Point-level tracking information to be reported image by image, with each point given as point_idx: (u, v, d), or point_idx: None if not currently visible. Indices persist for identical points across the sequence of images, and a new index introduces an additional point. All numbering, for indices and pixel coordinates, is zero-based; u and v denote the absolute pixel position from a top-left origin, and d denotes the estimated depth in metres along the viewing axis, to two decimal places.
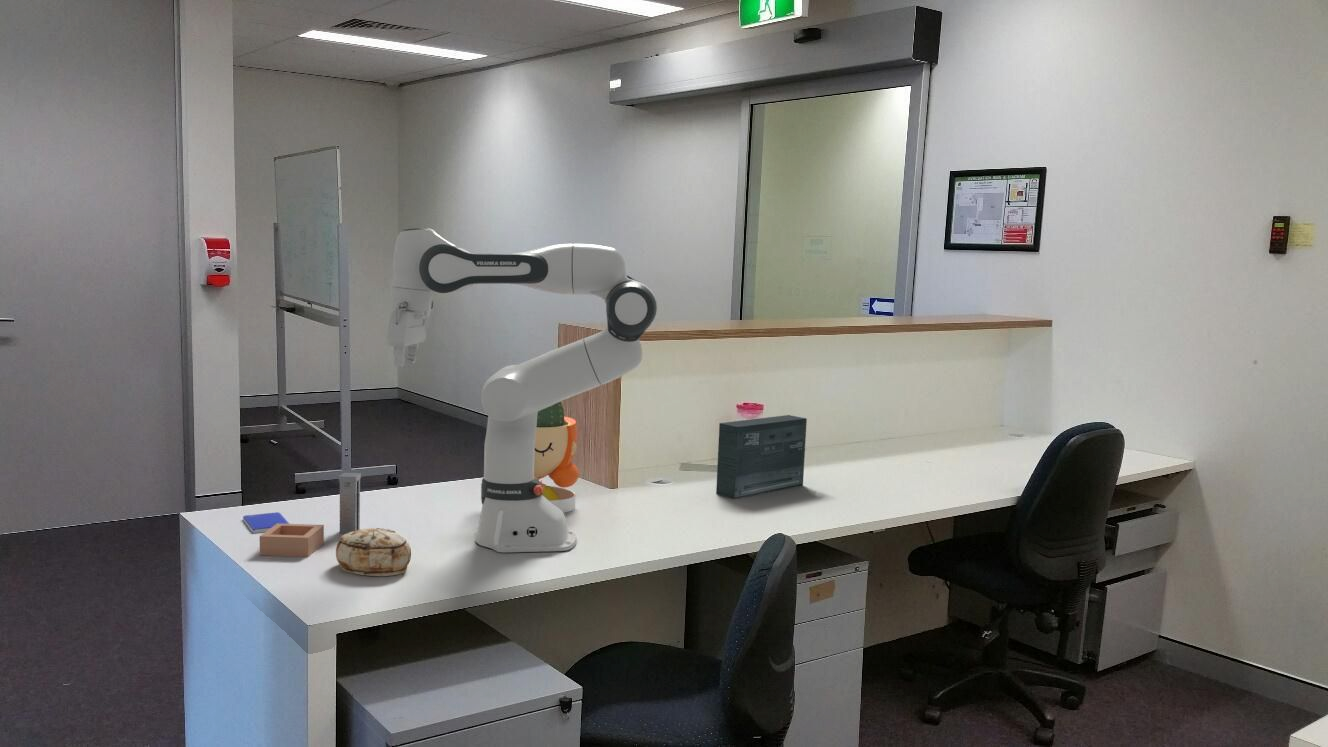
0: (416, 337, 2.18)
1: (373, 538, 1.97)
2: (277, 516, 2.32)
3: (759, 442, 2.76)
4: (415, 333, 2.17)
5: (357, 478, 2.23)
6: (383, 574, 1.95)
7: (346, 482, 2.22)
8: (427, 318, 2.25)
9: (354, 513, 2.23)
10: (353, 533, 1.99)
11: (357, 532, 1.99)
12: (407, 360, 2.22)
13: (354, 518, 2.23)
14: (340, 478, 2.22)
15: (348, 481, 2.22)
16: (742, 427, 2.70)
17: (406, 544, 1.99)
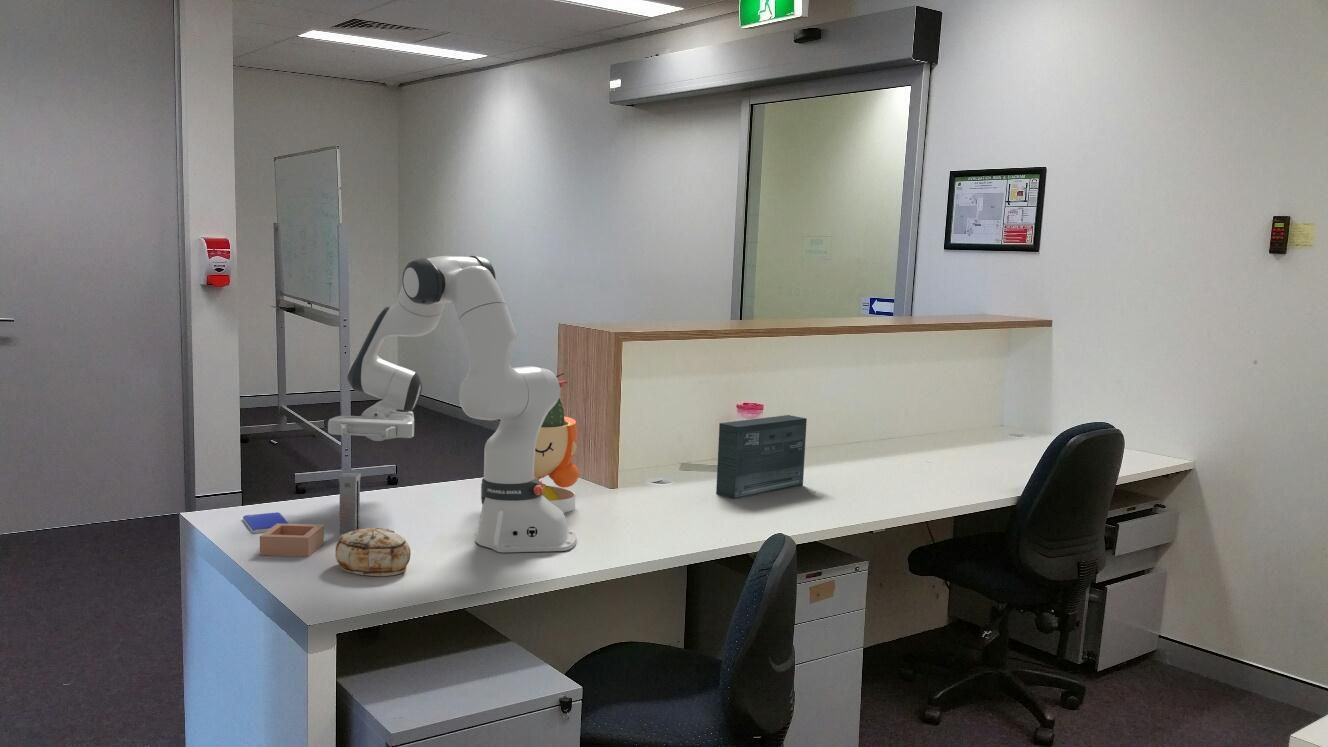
0: (373, 420, 2.41)
1: (372, 537, 1.97)
2: (277, 516, 2.32)
3: (759, 442, 2.76)
4: (370, 420, 2.42)
5: (357, 478, 2.23)
6: (382, 574, 1.95)
7: (346, 482, 2.22)
8: (407, 417, 2.45)
9: (354, 513, 2.23)
10: (352, 533, 1.99)
11: (356, 532, 1.99)
12: None
13: (354, 518, 2.23)
14: (340, 478, 2.22)
15: (348, 481, 2.22)
16: (742, 427, 2.70)
17: (405, 544, 1.99)
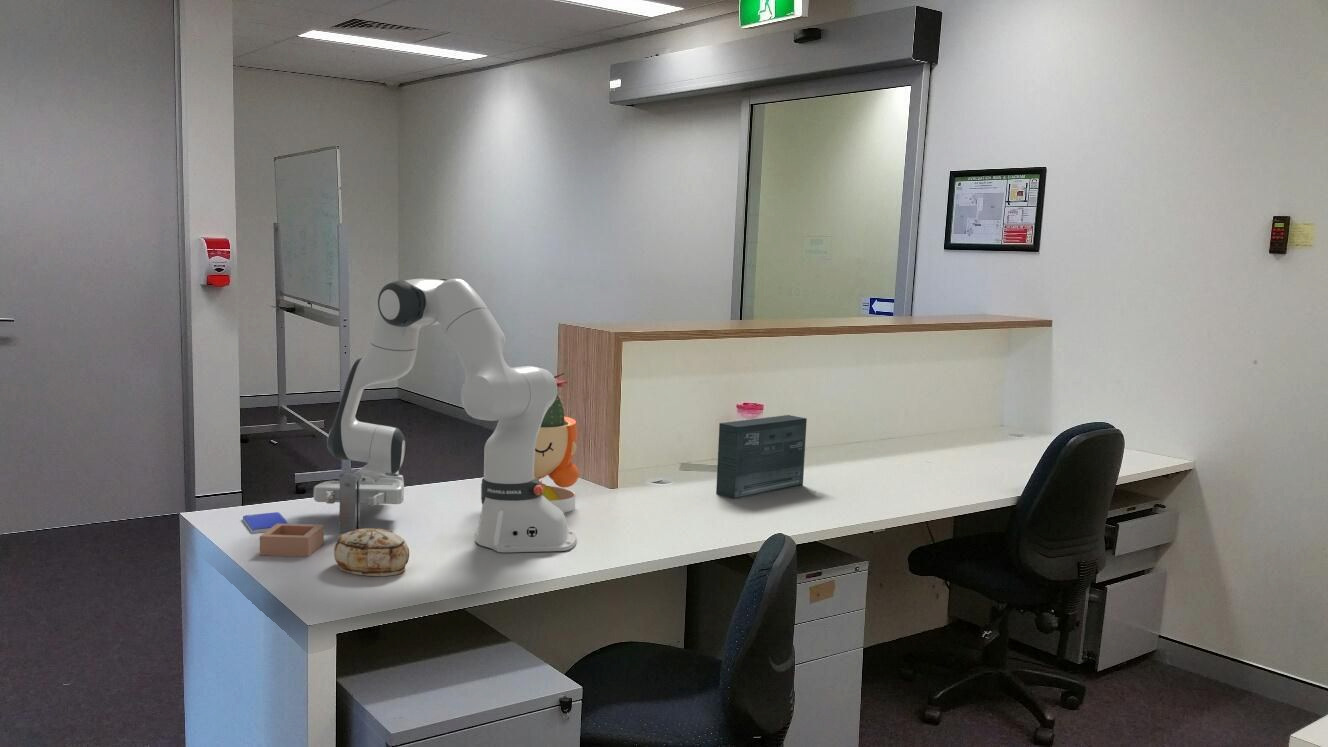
0: (361, 486, 2.31)
1: (371, 537, 1.97)
2: (277, 516, 2.32)
3: (759, 442, 2.76)
4: None
5: (357, 478, 2.23)
6: (381, 574, 1.95)
7: (346, 482, 2.22)
8: (396, 482, 2.35)
9: (354, 513, 2.23)
10: (351, 533, 1.99)
11: (355, 532, 1.99)
12: None
13: (354, 518, 2.23)
14: (340, 478, 2.22)
15: (348, 481, 2.22)
16: (742, 427, 2.70)
17: (404, 544, 1.99)
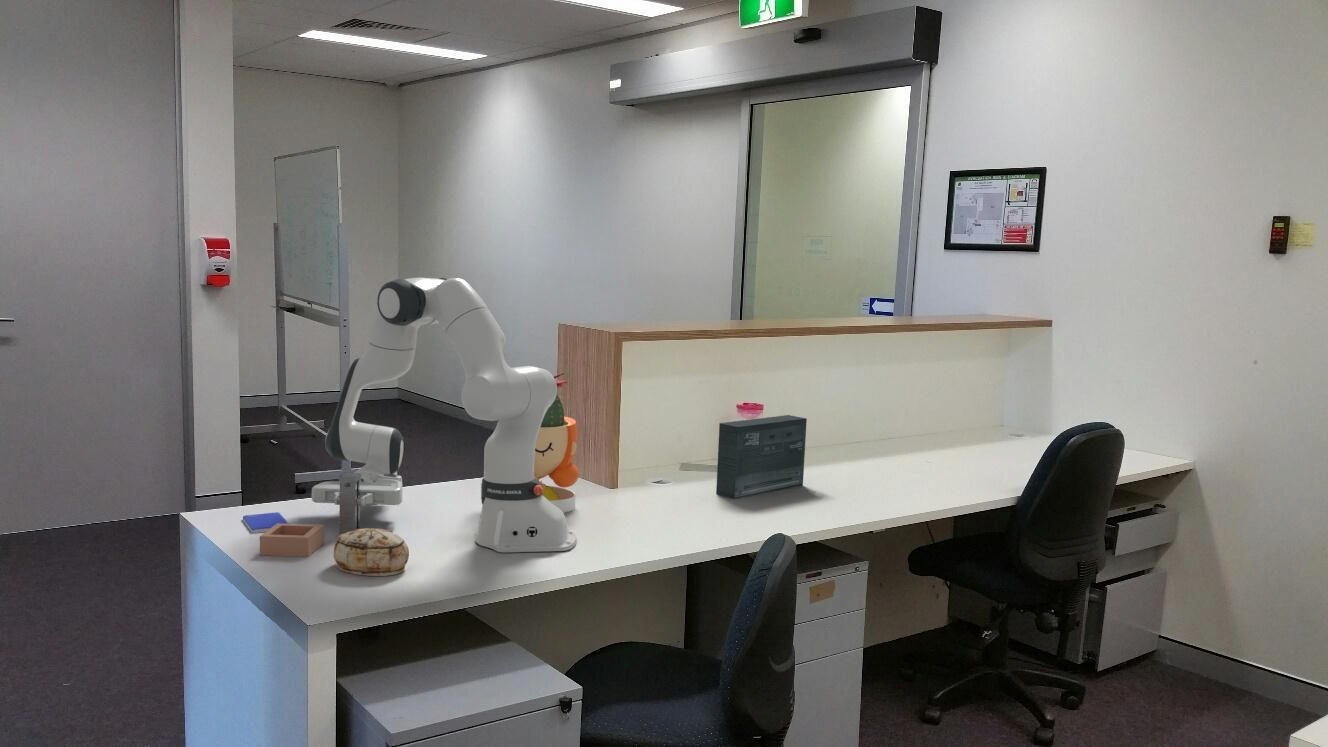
0: None
1: (371, 537, 1.97)
2: (277, 516, 2.32)
3: (759, 442, 2.76)
4: None
5: (357, 478, 2.23)
6: (381, 574, 1.95)
7: (346, 482, 2.22)
8: (395, 483, 2.34)
9: (354, 513, 2.23)
10: (351, 533, 1.99)
11: (355, 532, 1.99)
12: None
13: (354, 518, 2.23)
14: (340, 478, 2.22)
15: (348, 481, 2.22)
16: (742, 427, 2.70)
17: (404, 544, 1.99)
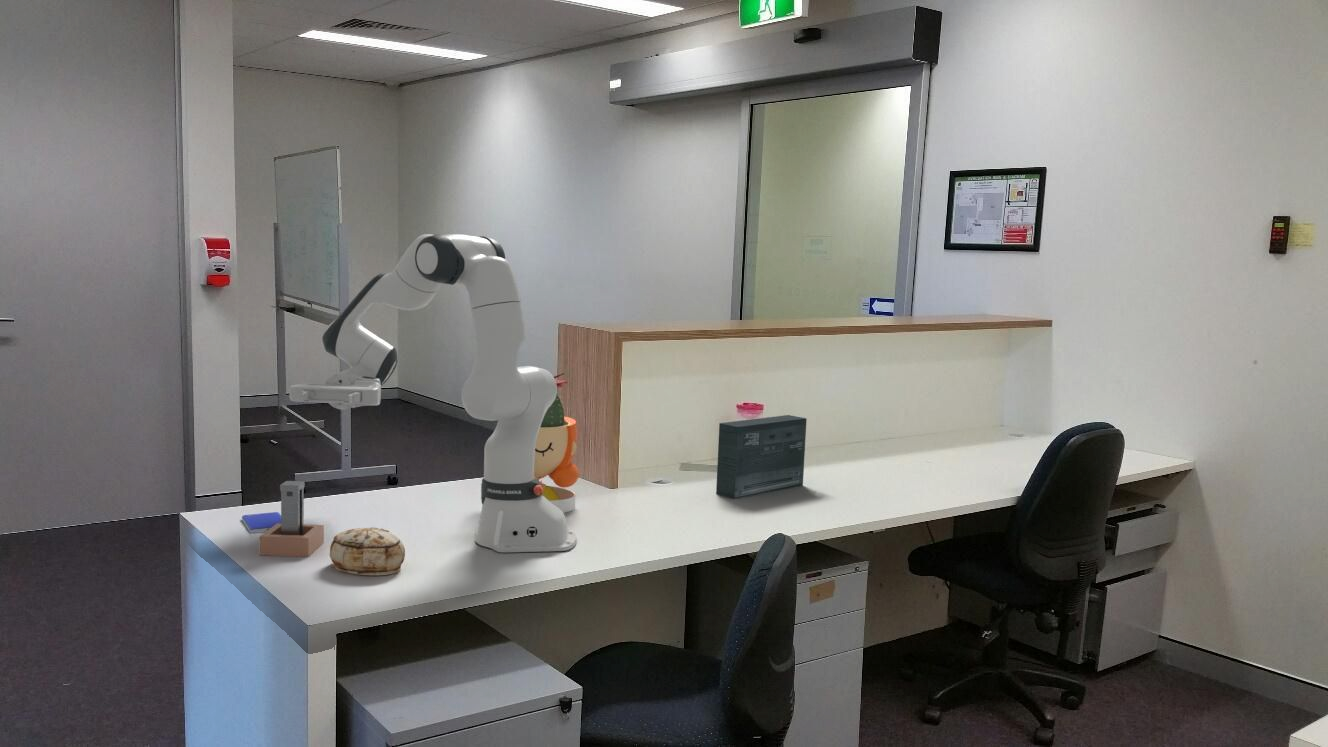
0: (337, 387, 2.30)
1: (367, 537, 1.97)
2: (276, 516, 2.32)
3: (759, 442, 2.76)
4: (333, 386, 2.31)
5: (300, 487, 2.09)
6: (377, 573, 1.96)
7: (288, 491, 2.08)
8: (373, 384, 2.34)
9: (297, 524, 2.09)
10: (347, 532, 2.00)
11: (351, 531, 2.00)
12: None
13: (297, 529, 2.09)
14: (281, 487, 2.08)
15: (290, 490, 2.08)
16: (742, 427, 2.70)
17: (400, 543, 1.99)
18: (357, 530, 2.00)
